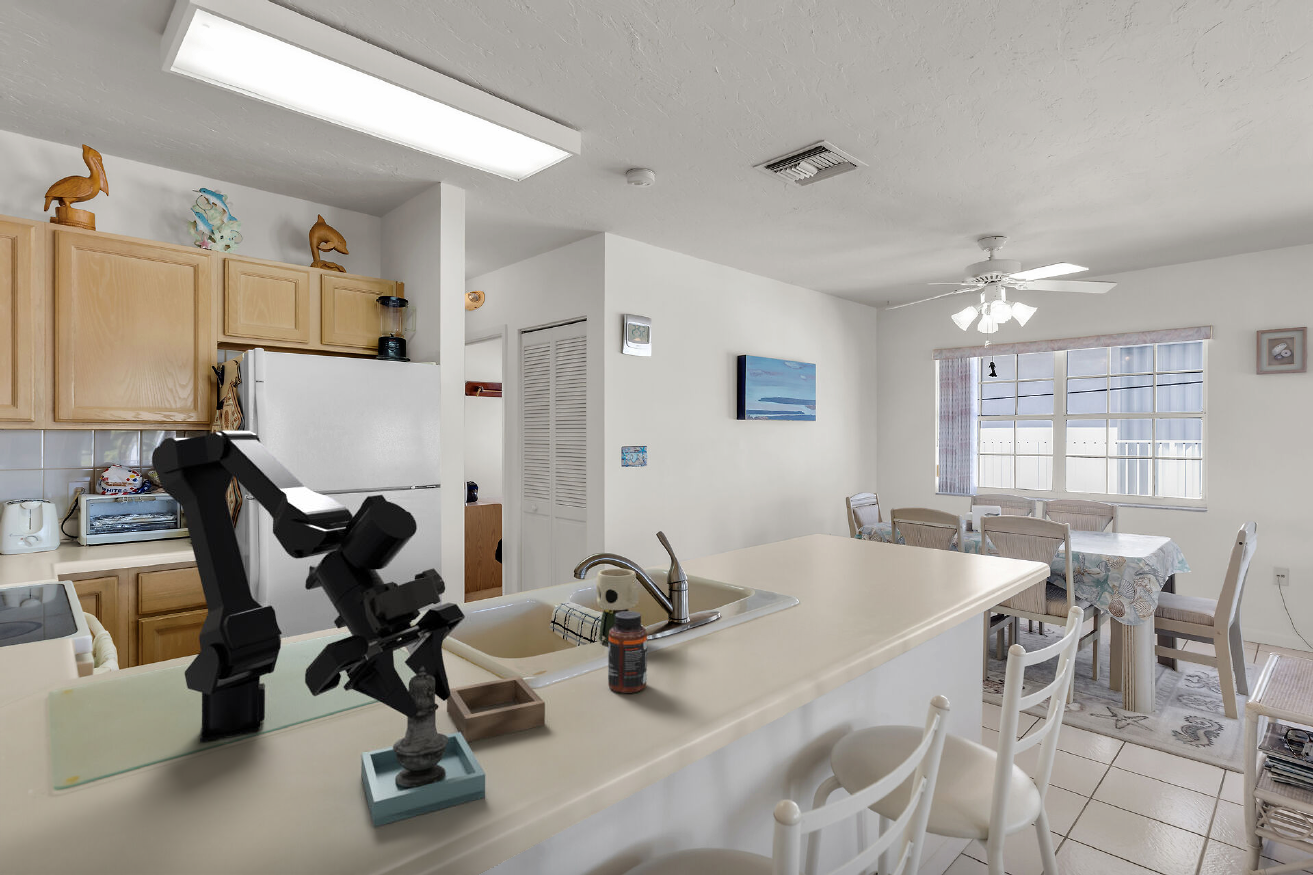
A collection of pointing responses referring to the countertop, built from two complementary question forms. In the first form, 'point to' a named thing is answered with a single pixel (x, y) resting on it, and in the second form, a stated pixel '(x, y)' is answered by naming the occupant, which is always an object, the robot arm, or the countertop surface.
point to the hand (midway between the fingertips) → (431, 706)
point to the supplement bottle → (627, 653)
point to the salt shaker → (421, 737)
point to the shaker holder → (499, 719)
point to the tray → (405, 802)
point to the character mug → (615, 596)
